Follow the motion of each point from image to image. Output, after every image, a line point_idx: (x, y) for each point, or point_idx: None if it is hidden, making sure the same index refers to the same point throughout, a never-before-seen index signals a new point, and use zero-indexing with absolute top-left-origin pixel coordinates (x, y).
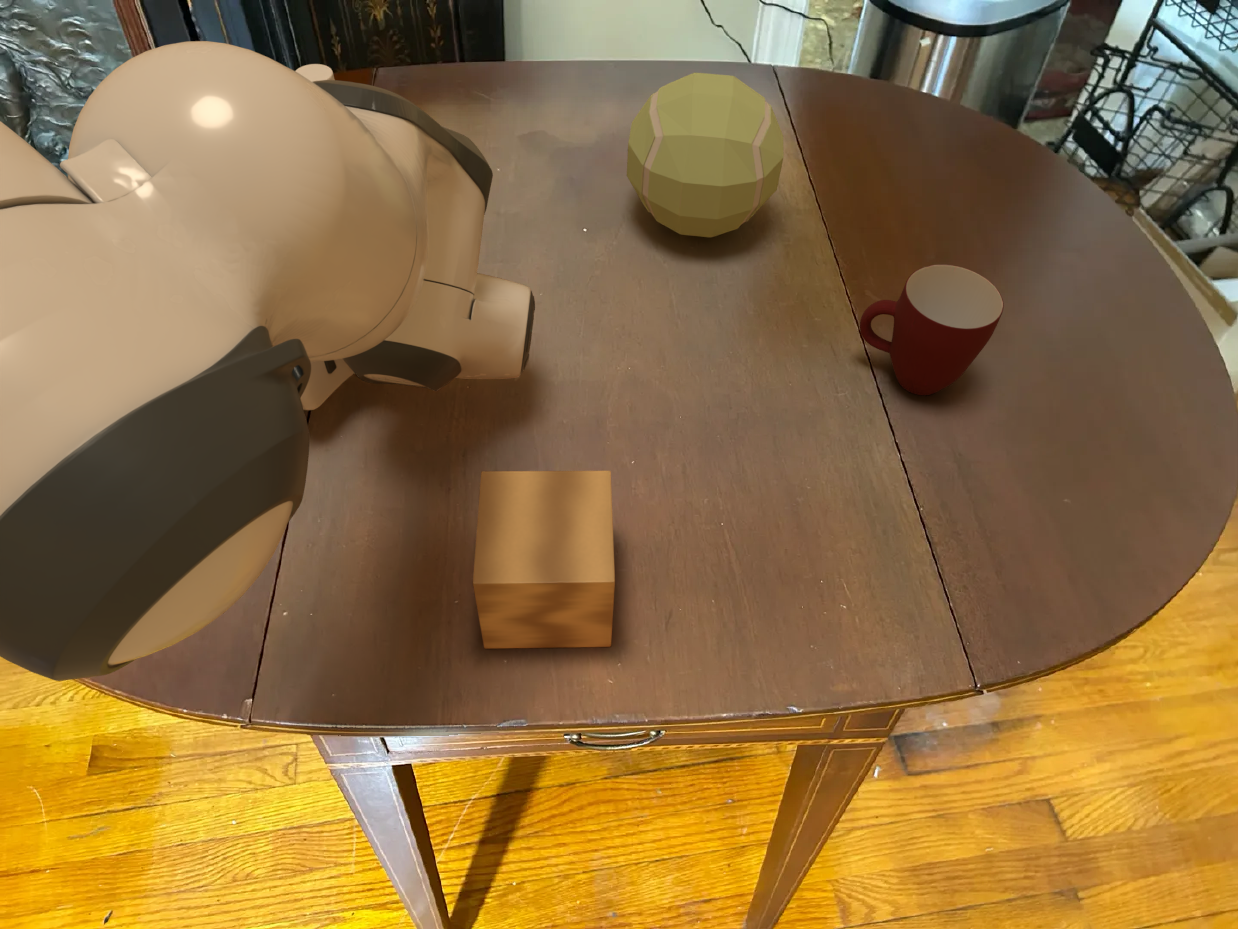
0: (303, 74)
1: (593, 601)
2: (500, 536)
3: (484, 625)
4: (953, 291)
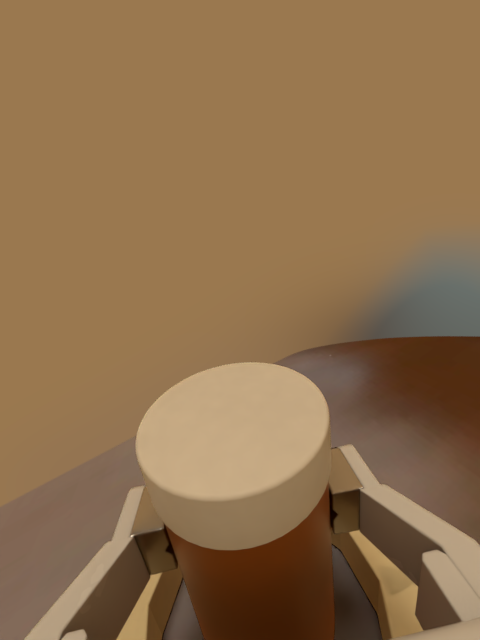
0: None
1: None
2: None
3: None
4: None
